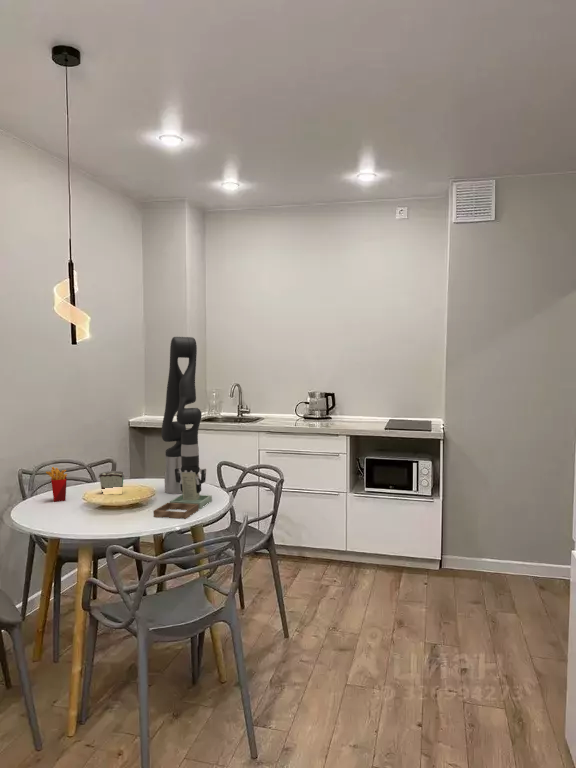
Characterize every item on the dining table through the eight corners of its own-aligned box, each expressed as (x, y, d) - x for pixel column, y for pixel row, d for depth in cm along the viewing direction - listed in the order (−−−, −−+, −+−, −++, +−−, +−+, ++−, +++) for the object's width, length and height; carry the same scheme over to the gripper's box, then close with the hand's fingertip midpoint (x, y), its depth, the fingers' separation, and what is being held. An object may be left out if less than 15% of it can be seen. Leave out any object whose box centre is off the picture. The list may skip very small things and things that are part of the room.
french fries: (67, 497, 275) (66, 465, 274) (67, 501, 268) (66, 468, 267) (46, 499, 272) (45, 466, 271) (46, 504, 264) (45, 470, 263)
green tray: (169, 507, 256) (169, 501, 256) (182, 499, 269) (182, 494, 268) (200, 508, 253) (200, 503, 252) (211, 501, 265) (211, 495, 265)
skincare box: (200, 498, 262) (199, 470, 261) (195, 501, 257) (194, 472, 257) (186, 497, 263) (186, 470, 263) (182, 500, 259) (181, 472, 259)
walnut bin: (153, 516, 241) (153, 510, 241) (167, 508, 254) (167, 502, 254) (185, 518, 238) (185, 512, 238) (198, 510, 251) (198, 504, 250)
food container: (129, 491, 285) (128, 470, 285) (124, 494, 279) (123, 473, 279) (104, 491, 287) (103, 470, 286) (99, 494, 280) (98, 473, 280)
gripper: (208, 453, 261) (209, 491, 262) (178, 452, 265) (179, 489, 266) (202, 456, 254) (203, 495, 255) (170, 455, 257) (171, 493, 258)
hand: (190, 492), depth 260 cm, fingers closed on skincare box, 6 cm apart
